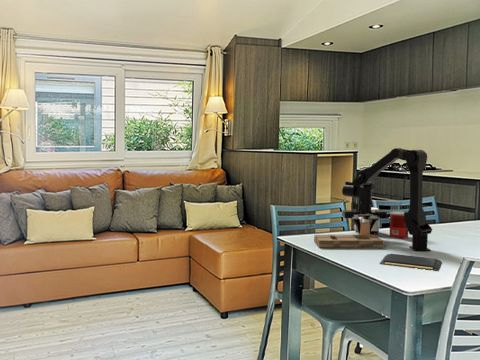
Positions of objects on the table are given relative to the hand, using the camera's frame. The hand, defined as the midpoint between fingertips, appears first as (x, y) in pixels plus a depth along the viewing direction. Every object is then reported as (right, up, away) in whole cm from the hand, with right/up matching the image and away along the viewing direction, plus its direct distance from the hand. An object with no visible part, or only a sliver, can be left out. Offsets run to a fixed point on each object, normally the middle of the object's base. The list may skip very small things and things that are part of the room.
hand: (363, 233), depth 209 cm
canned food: (+17, -2, +4) cm, 18 cm away
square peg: (0, -2, 0) cm, 2 cm away
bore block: (-10, -3, -12) cm, 16 cm away
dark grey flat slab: (+7, -7, -39) cm, 41 cm away
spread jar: (+5, -1, +14) cm, 15 cm away
